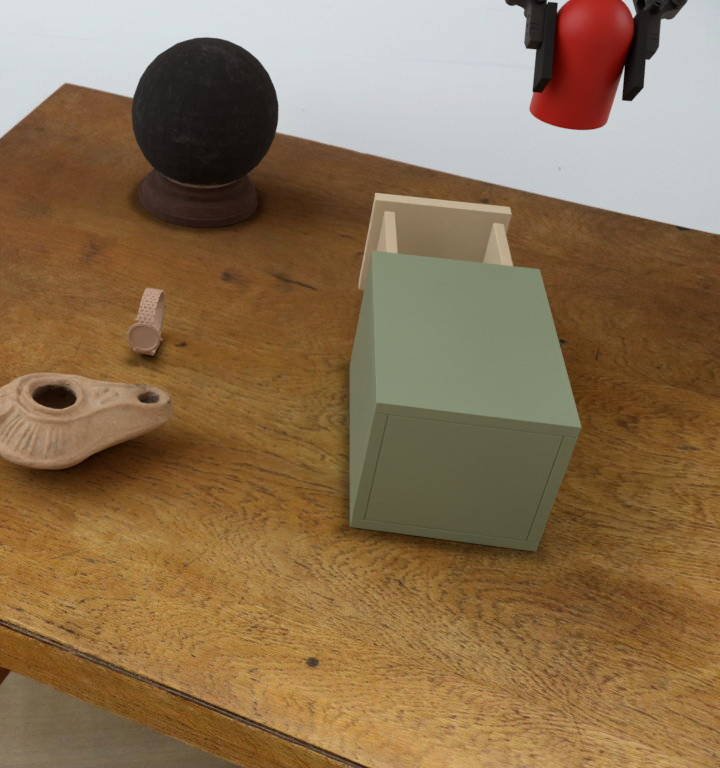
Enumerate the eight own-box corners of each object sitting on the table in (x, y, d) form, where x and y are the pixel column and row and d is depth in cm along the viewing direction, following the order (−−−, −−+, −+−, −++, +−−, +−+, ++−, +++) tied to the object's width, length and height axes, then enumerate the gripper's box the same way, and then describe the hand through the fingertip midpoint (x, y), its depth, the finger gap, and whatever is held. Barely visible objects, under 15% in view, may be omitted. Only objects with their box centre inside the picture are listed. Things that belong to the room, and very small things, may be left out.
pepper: (599, 103, 96) (640, -30, 89) (613, 133, 91) (657, -5, 84) (524, 96, 97) (558, -37, 90) (534, 126, 92) (571, -12, 85)
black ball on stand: (271, 237, 99) (291, 75, 90) (124, 228, 99) (130, 66, 90) (264, 170, 110) (282, 20, 101) (131, 162, 110) (137, 11, 101)
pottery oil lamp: (188, 473, 73) (162, 425, 67) (17, 517, 75) (-24, 474, 69) (167, 362, 77) (141, 308, 72) (6, 406, 79) (-33, 357, 73)
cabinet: (349, 365, 84) (371, 250, 78) (505, 384, 83) (539, 268, 77) (349, 527, 70) (376, 402, 64) (536, 552, 69) (581, 427, 63)
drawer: (358, 250, 96) (374, 163, 91) (479, 263, 95) (502, 176, 90) (359, 403, 79) (379, 305, 74) (508, 421, 78) (538, 324, 73)
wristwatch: (125, 362, 83) (127, 306, 80) (139, 328, 87) (142, 273, 84) (160, 368, 83) (164, 312, 80) (173, 333, 86) (177, 279, 83)
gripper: (500, -212, 89) (474, 58, 86) (750, -195, 87) (733, 81, 84) (480, -153, 97) (455, 97, 94) (710, -137, 95) (692, 119, 92)
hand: (586, 89), depth 89 cm, fingers closed on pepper, 6 cm apart
